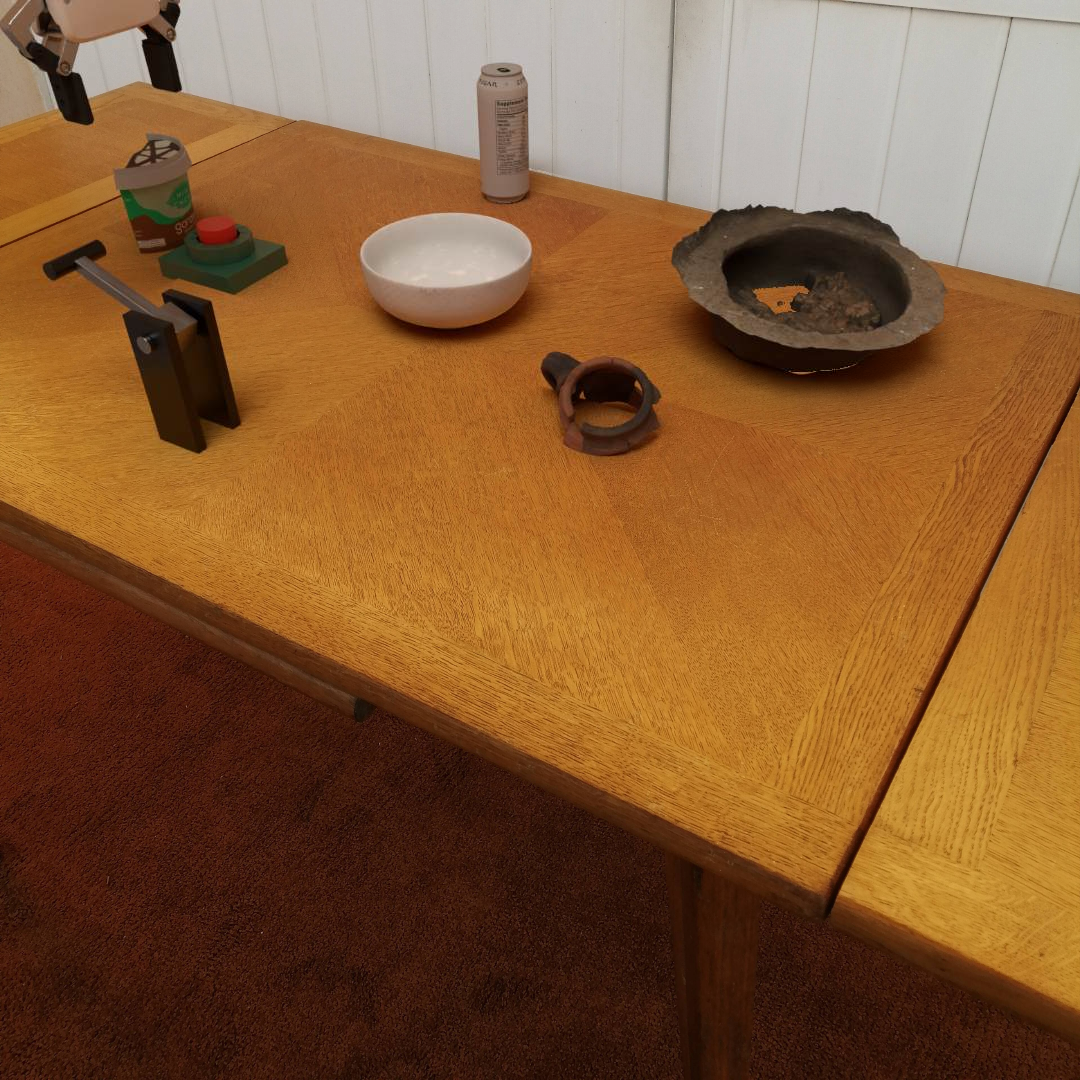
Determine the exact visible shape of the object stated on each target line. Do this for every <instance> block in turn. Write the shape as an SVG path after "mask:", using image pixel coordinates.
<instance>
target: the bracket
mask: <svg viewBox="0 0 1080 1080" xmlns="http://www.w3.org/2000/svg"><path fill="white" fill-rule="evenodd" d="M161 297H162V301H163V305H164V304H166V303H168V302H171V303H173V304H174V305H176V306H177V307H179V308H180V309H181V310H183V311H184V312H186V313H187V314H188V315H190V316H191V317H193V318H194V319H196V320H197V336H196V344H195V345H193V346H191V347H190V348H188V349H186V350H185V351H183V352H181V350H180V346H179V343H178V339H177V335H176V332H175V328H174V324H173V323H172V322H169V321H166V320H162V319H159V318H156V317H153V316H150V315H147V314H144V313H141V312H137V311H134V310H130V309H129V310H127V311H126V312H124V313H122V315H121V317H122V319H123V322H124V323H123V324H124V325H125V329H126V333H127V336H128V339H129V342H130V345H131V348H132V349H131V350H132V352H133V355H134V359H135V363H136V366H137V368H138V369H137V370H138V372H139V375H140V378H141V381H142V385H143V388H144V391H145V394H146V399H147V401H148V404H149V408H150V410H151V413H152V417H153V421H154V423H155V427H156V431H157V433H158V437H159V439H160V440H161V441H163V442H165V443H169V444H171V445H174V446H176V447H178V448H179V447H180V448H182V449H184V450H187V451H189V452H192V453H194V454H198V455H200V454H201V453H203V452H204V451H205V450H207V449H208V446H207V442H206V439H205V435H204V432H203V431H204V430H203V428H202V424H201V420H200V419H202V420H205V421H208V422H210V423H213V424H216V425H219V426H222V427H224V428H226V429H230V430H232V431H234V430H235V429H237V428H239V426H241V425H242V422H241V418H240V413H239V409H238V405H237V401H236V398H235V393H234V389H233V385H232V381H231V380H232V379H231V377H230V372H229V368H228V364H227V360H226V355H225V352H224V348H223V343H222V340H221V334H220V331H219V327H218V323H217V322H218V321H217V318H216V315H215V311H214V306H213V305H214V304H213V302H212V300H210V299H206V298H202V297H200V296H197V295H193V294H190V293H187V292H183V291H180V290H177V289H174V288H168V289H166V290H165V291H163V292H162V293H161Z"/></svg>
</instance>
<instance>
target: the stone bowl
mask: <svg viewBox="0 0 1080 1080" xmlns="http://www.w3.org/2000/svg"><path fill="white" fill-rule="evenodd" d="M670 260H671V261H670V263H671V266H673V268H674V269H675V270H676V271H677V273H678V275H679V278H680V281H681V283H683V285H684V286H685V287H686V288H687V292H688V297H689V298H690V299H691V300H693V301H694V302H696V303H697V304H698V305H700V306H701V307H703V308H704V309H706V310H707V313H708V317H709V322H710V327H711V332H712V333H713V335H714V337H715V339H716V341H718V343H719V344H720V345H721V346H722V347H724V348H726V349H730V350H731V352H732V353H733V354H734V355H736V356H737V357H738V358H739V357H740V359H741V358H742V359H741V360H744V361H749V362H751V363H753V362H756V363H762V364H764V365H766V366H770V367H772V368H776V369H780V370H783V371H785V370H786V372H788V371H791V372H813V371H819V372H821V370H832V369H833V370H834V369H835V371H837V370H836V369H840V368H844V367H848V366H852V365H854V364H856V363H857V364H859V363H860V362H862V361H863V360H864V359H865V358H867V357H869V356H870V355H872V354H874V353H875V352H877V351H878V350H883V349H891V348H896V347H900V346H904V345H906V344H910V343H911V342H912V341H915V340H916V339H917V338H918V337H920V336H921V335H924V334H928V333H929V332H930V331H931V330H932V329H933V328H935V327H937V326H940V325H941V322H942V321H943V319H944V318H943V317H944V314H945V305H944V302H943V301H944V296H945V295H946V294H947V293H948V289H947V287H946V286H945V283H944V282H943V280H942V278H941V277H940V275H939V273H938V271H937V270H936V268H935V267H934V266H933V265H932V264H931V263H929V262H928V261H926V260H924V259H922V258H921V257H920V256H919V255H918V254H917V253H916V252H914V251H913V250H911V249H909V247H907V246H903V244H901V239H900V236H898V234H897V233H896V232H895V230H894V229H893V227H892V226H891V224H889V223H885V222H882V221H881V220H880V219H879V218H875V217H874V216H872V215H871V213H869V212H866V211H863V210H852V209H849V208H848V207H845V206H842V207H834V208H833V210H830V209H825V210H814V211H808V212H805V213H801V212H795V211H794V208H791V209H787V208H786V207H779V206H777V205H770V206H769V205H767V206H763V205H762V204H760V203H759V204H758V205H756V206H755V207H753V206H752V203H749V204H748V205H746V206H745V207H744V208H734V209H730V210H728V209H724V208H719V209H718V210H717V211H715V212H714V213H712V215H711V217H710V218H709V219H708V220H707V221H706V223H705V224H704V225H701V226H699V229H698V230H695V231H694V232H692V233H690V234H688V235H687V236H682V238H681V241H678V242H677V243H676V244H675V246H673V249H672V253H671V259H670ZM794 285H795V286H798V285H799V286H804V287H805V288H807V289H808V290H809V292H808V294H804V293H800V292H799V293H797V295H796V296H794V298H793V301H792V302H790V305H791V309H792V310H794V311H796V312H792V311H788V312H783V313H782V312H781V313H777V314H775V313H774V312H773V311H772V310H771V308H770V307H769V306H768V305H767V304H765V303H763V302H760V301H759V300H758V299H757V298H756V297H757V295H756V294H755V293H753V291H754V290H755V289H759V288H760V289H761V288H764V289H765V288H773V287H776V288H778V287H786V286H794ZM752 290H753V291H752ZM783 303H784V304H785V302H782V301H779V302H777V305H778V306H780V305H783ZM862 359H863V360H862ZM861 360H862V361H861ZM858 362H859V363H858ZM857 364H856V365H857Z"/></svg>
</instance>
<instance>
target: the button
mask: <svg viewBox="0 0 1080 1080" xmlns="http://www.w3.org/2000/svg"><path fill="white" fill-rule="evenodd" d="M235 223H236V221H235V220H234V218H232V217H230V216H226V215H215V216H214V215H213V216H209V217H205V218H202V219H201V220H199V221H197V222H196V229H197V232H198V236H199V240H200V243H202V244H206V245H220V244H224V243H229V242H232V241H234V240H236V239H237V238H238V235H237V230H236V226H235Z"/></svg>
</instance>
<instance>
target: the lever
mask: <svg viewBox="0 0 1080 1080" xmlns="http://www.w3.org/2000/svg"><path fill="white" fill-rule="evenodd" d="M107 254H108V251H107V248H106V246H105V244H104V243H103V242H102V241H100V240H99V239H93V240H91V241H89V242H87V243H85V244H83V245H80V246H78V247H76V248H74V249H72V250H69V251H67V252H65V253H62V254H61V255H58V256H57V257H54V258H52V259H50V260H47V261H46V262H44V263H43V264H42V270H43V273H44V275H45V276H46V277H47V278H48V279H49V280H50V281H52V282H55V281H58V280H60V279H62V278H64V277H66V276H68V275H70V274H72V273H74V272H76V273H78V274H79V275H80V276H82V277H83V278H85V279H86V280H87V281H89V282H90V283H92V284H93V285H94V286H95V287H98V288H99V289H100V290H101V291H103V292H104V293H106V294H107V295H109V296H111V298H113V299H114V300H116V301H117V302H119V303H120V304H121V305H122V306H124V307H126V308H127V309H129V311H130V310H134V311H137V312H141V313H144V314H147V315H150V316H153V317H156V318H159V319H162V320H166V321H169V322H172V323H173V324H174V328H175V332H176V335H177V339H178V343H179V346H180V350H181V352H183V351H185V350H186V349H188V348H190V347H191V346H193V345H195V344H196V336H197V320H196V319H194V318H193V317H191V316H190V315H188V314H187V313H186V312H184V311H183V310H181V309H180V308H179V307H177V306H176V305H174V304H173V303H171V302H168V303H166V304H164V303H163V305H161V306H158V305H156V304H154V303H153V302H151V301H150V300H149V299H148V298H146V297H144V296H143V295H142V294H140V293H139V292H138V291H136V290H135V289H133V288H131V286H129V285H127V284H126V283H125V282H123V281H122V280H120V279H119V278H118V277H116V276H115V275H113V274H112V273H110V272H109V271H108V270H106V269H105V268H103V267H102V266H101V265H99V264H97V263H96V262H97V261H99V260H101V259H103V258H105V257H107Z"/></svg>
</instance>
